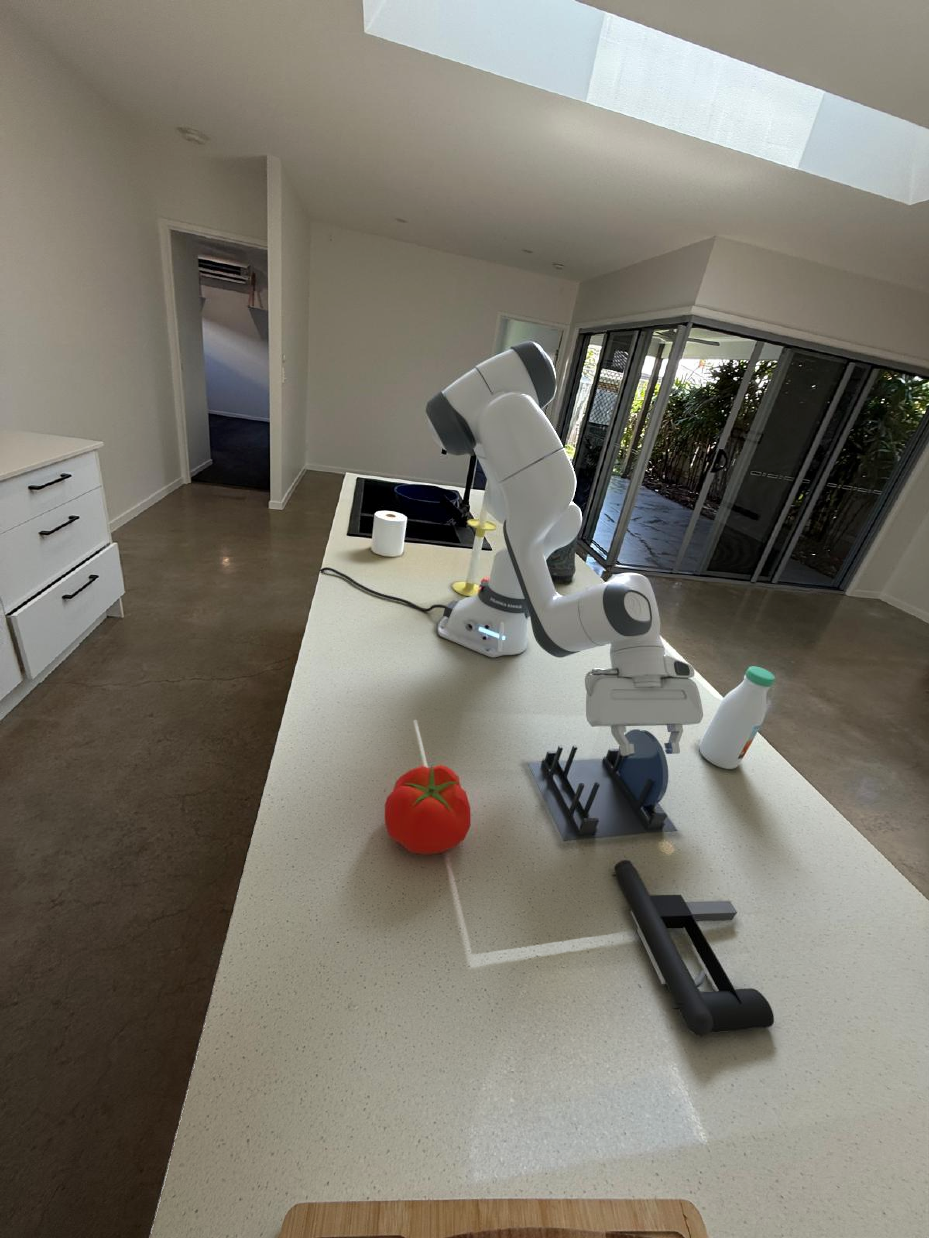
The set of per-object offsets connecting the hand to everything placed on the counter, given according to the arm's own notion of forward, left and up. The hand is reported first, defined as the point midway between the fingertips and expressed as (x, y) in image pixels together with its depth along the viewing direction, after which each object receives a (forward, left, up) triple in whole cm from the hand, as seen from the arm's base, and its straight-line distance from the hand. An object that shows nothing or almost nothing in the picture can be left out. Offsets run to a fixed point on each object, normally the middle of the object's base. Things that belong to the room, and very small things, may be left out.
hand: (650, 754), depth 81 cm
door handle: (+7, -22, -10) cm, 26 cm away
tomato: (-30, -20, -10) cm, 37 cm away
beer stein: (-29, +98, -10) cm, 102 cm away
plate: (-1, 0, -9) cm, 9 cm away
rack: (-6, -2, -10) cm, 12 cm away
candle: (-48, +66, -10) cm, 82 cm away
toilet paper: (-80, +78, -10) cm, 112 cm away
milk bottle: (+17, +21, -10) cm, 29 cm away
